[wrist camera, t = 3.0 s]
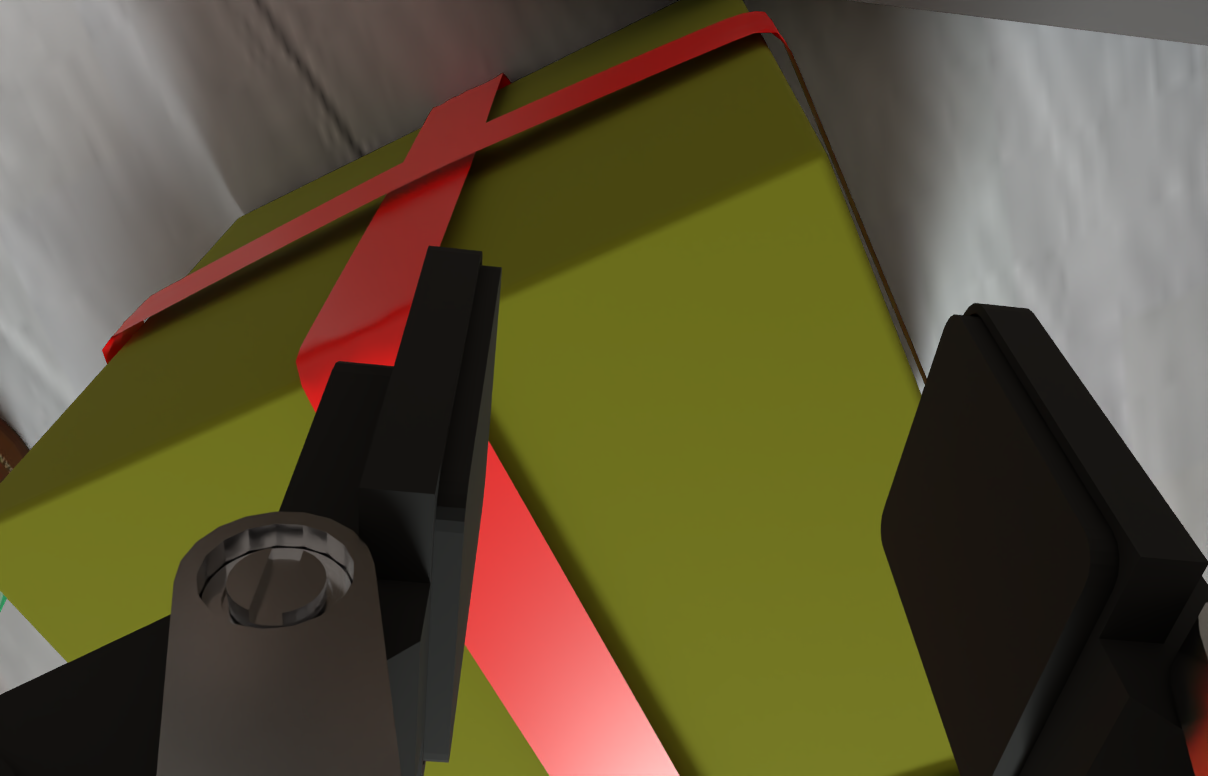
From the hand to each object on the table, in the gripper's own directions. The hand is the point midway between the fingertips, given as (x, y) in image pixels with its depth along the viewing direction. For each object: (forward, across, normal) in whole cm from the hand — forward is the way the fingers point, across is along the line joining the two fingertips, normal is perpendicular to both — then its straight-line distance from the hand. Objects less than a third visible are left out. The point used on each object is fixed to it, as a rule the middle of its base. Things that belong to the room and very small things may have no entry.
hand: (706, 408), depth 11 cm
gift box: (+24, -2, +14) cm, 28 cm away
